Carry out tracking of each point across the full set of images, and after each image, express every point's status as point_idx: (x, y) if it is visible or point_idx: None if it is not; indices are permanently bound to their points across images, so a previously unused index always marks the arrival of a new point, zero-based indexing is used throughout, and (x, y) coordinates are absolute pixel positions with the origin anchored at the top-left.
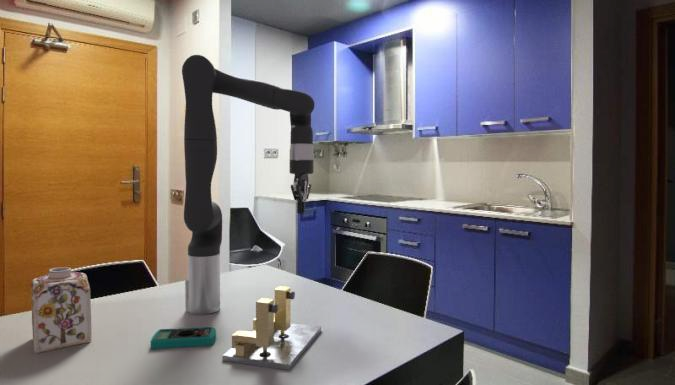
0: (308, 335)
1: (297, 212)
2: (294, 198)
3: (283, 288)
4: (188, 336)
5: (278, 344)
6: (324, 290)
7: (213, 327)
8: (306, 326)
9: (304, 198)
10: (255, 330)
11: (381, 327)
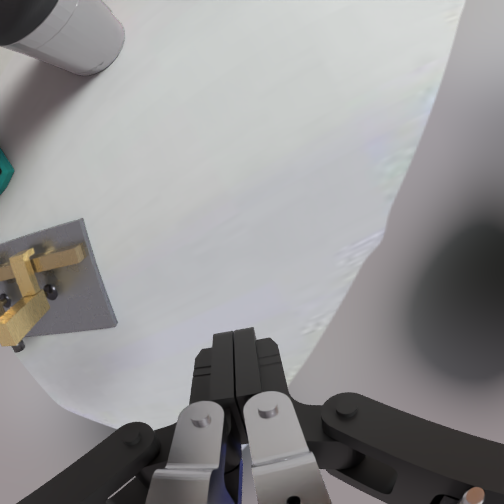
0: (75, 324)
1: (213, 337)
2: (109, 441)
3: (3, 337)
4: None
5: None
6: (363, 205)
7: (2, 175)
8: (100, 304)
9: (235, 477)
10: (9, 268)
11: None
